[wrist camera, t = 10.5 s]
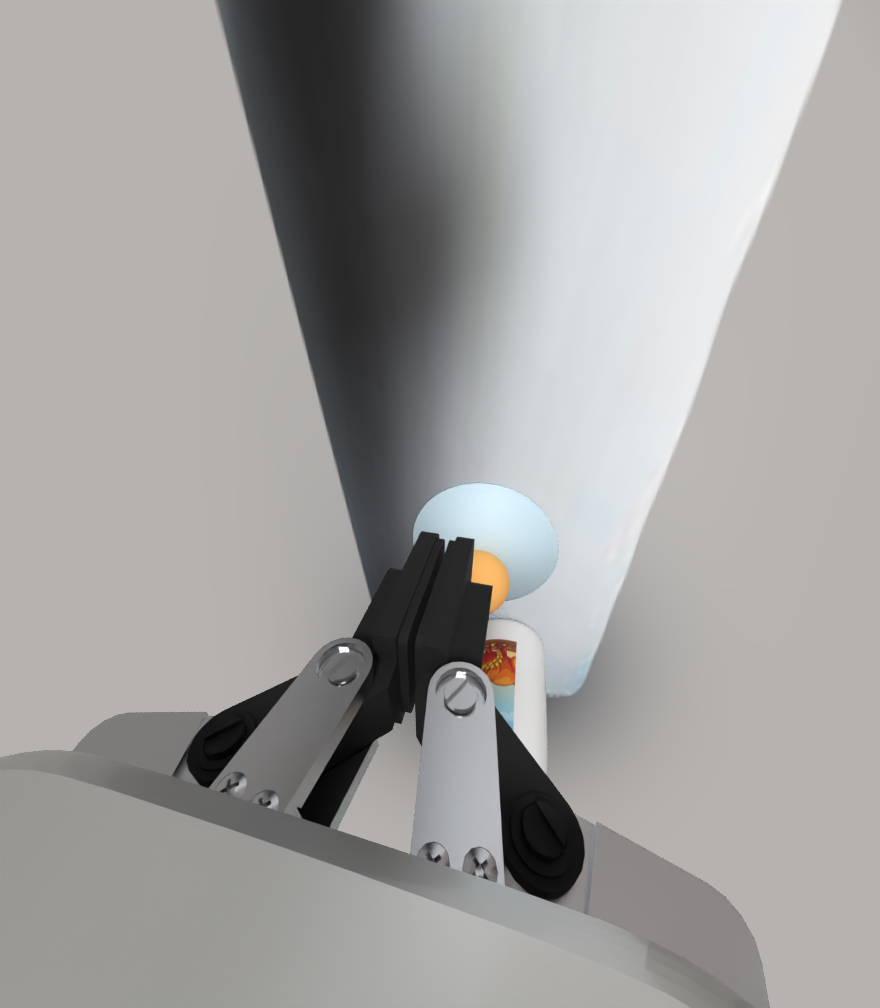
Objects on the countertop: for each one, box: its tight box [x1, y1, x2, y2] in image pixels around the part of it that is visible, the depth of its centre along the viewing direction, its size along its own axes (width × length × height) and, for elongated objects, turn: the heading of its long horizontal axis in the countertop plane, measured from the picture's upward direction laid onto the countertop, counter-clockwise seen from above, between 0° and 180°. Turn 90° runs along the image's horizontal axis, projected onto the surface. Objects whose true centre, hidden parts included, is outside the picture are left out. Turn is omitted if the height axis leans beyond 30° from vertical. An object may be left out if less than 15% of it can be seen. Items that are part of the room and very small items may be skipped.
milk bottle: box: [482, 618, 547, 774], centre depth 29 cm, size 8×8×20 cm
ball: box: [471, 550, 510, 613], centre depth 30 cm, size 6×6×6 cm
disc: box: [413, 483, 559, 601], centre depth 32 cm, size 13×13×1 cm
